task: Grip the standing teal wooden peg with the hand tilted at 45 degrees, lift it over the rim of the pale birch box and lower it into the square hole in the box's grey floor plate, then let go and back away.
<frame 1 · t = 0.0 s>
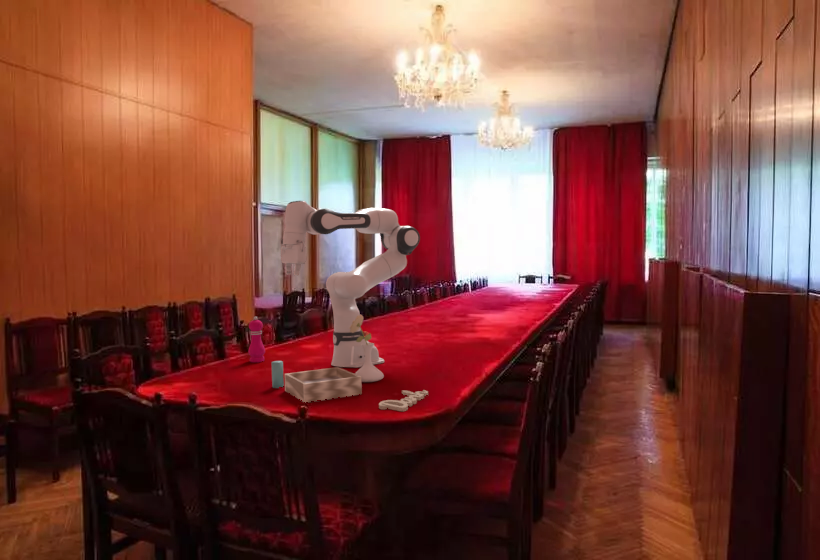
hand: (292, 275, 246), 39 cm above the table, tool pointing down, fingers open, 8 cm apart
bore box: (322, 392, 209), on the table
decorative sign: (405, 403, 195), on the table
peg: (278, 386, 220), on the table
pepper mill: (257, 361, 272), on the table
flower in vase: (366, 382, 225), on the table
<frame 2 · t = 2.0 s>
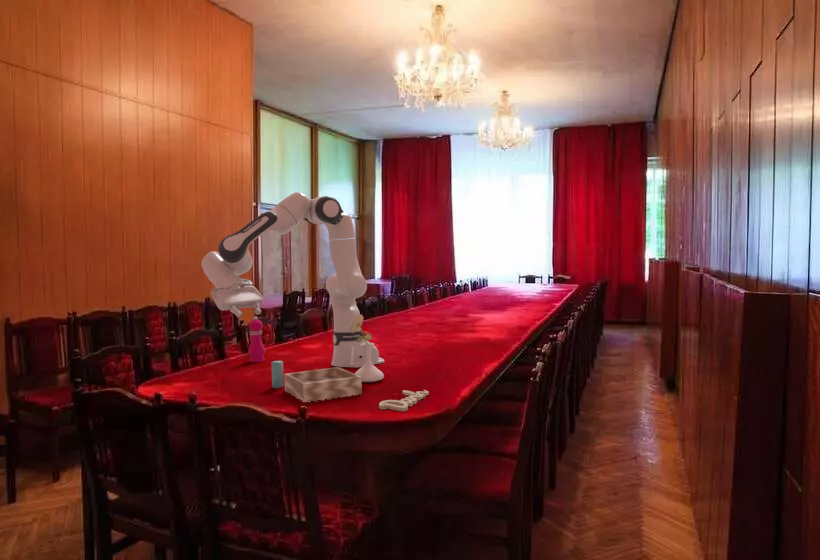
hand: (250, 314, 225), 26 cm above the table, tool tilted 45°, fingers open, 8 cm apart
nothing on the table moved.
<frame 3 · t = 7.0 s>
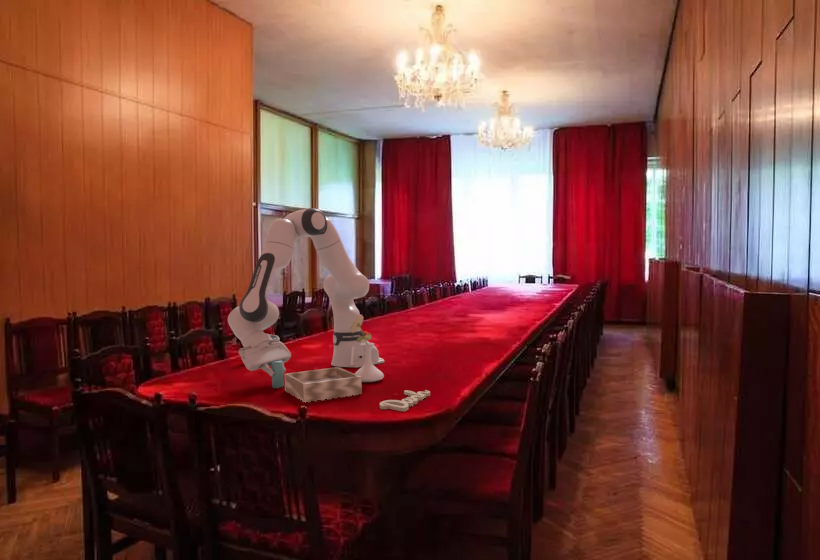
hand: (278, 373, 219), 5 cm above the table, tool tilted 45°, fingers closed on peg, 4 cm apart
peg: (278, 386, 220), on the table, touching gripper
everything else where it was.
when the fingers open (7 cm above the table, at t = 12.8 s): peg drops 2 cm, resting in bore box.
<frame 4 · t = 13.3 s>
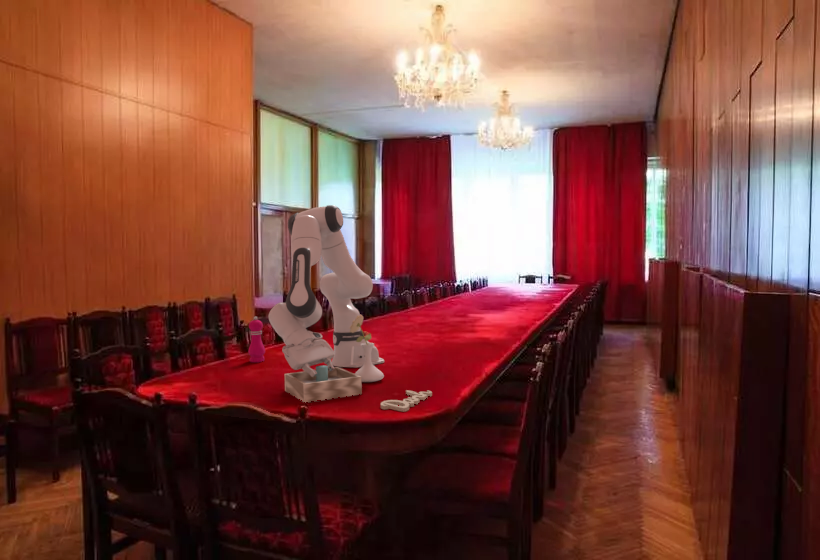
hand: (323, 372, 208), 7 cm above the table, tool tilted 45°, fingers open, 8 cm apart
peg: (322, 392, 209), resting in bore box
everything else where it was.
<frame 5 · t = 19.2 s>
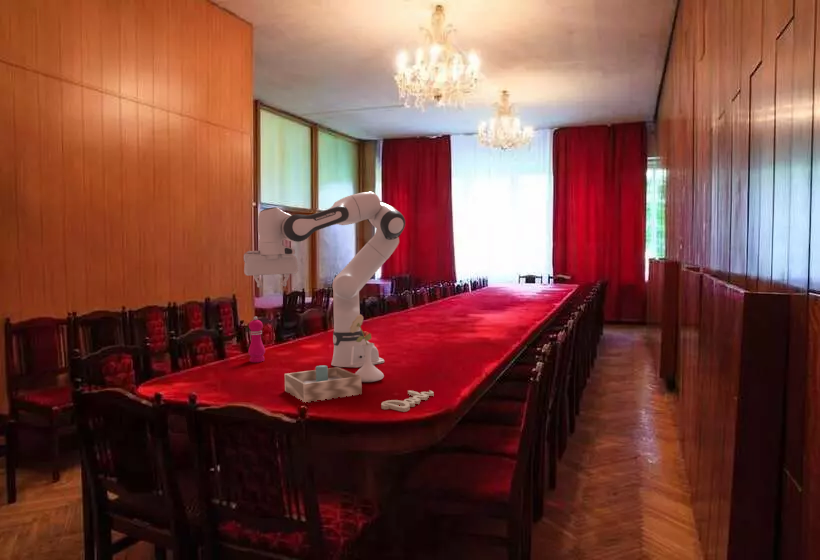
hand: (272, 286, 234), 35 cm above the table, tool pointing down, fingers open, 8 cm apart
at the end: peg 0.1 cm off-centre on the bore box, point 0.0 cm above the bore box's base; peg tilted 1°; the gripper is holding nothing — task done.
